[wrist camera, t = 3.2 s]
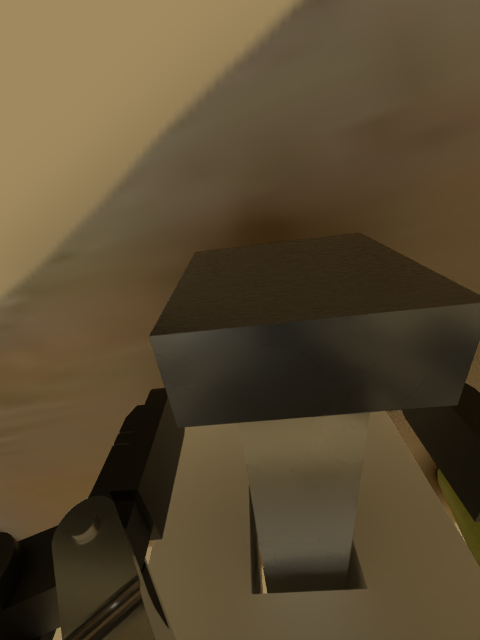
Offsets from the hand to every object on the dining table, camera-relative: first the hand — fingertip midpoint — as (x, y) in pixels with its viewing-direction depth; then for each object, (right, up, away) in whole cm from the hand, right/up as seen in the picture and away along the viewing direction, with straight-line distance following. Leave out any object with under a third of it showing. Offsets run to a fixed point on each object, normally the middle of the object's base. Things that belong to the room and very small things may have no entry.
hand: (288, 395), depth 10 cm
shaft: (+1, -5, +4) cm, 7 cm away
